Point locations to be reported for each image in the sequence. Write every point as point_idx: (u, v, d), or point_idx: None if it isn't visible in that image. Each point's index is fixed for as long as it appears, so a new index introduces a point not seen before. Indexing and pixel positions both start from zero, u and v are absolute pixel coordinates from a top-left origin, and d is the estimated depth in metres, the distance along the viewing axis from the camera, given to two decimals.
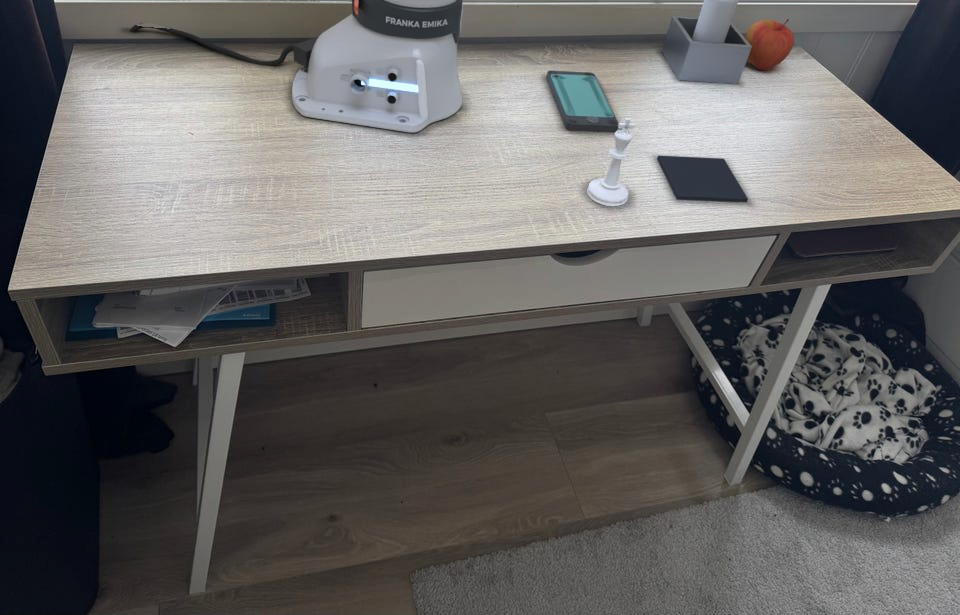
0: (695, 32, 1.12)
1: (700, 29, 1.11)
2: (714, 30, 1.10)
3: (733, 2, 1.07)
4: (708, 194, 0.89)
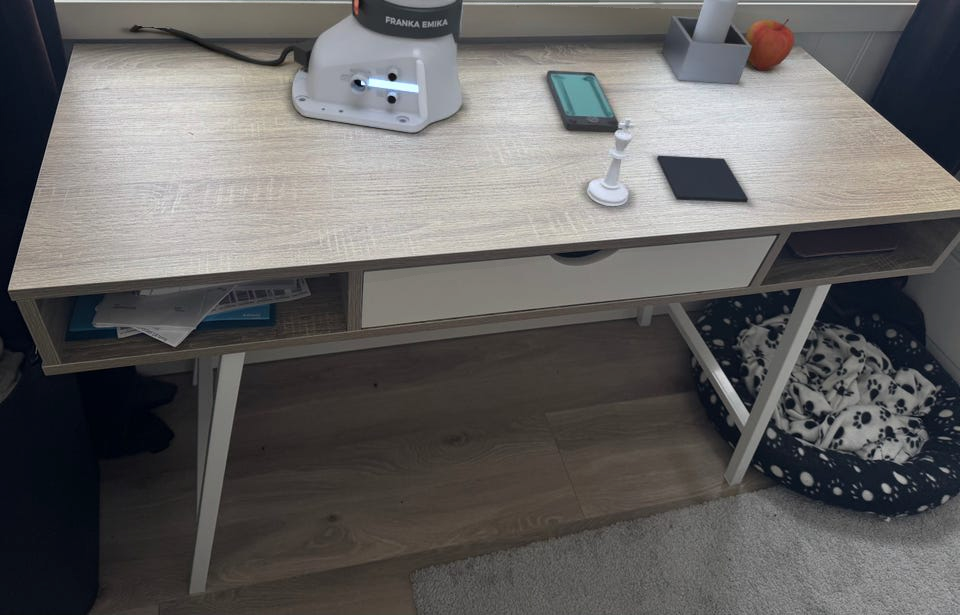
0: (695, 32, 1.12)
1: (700, 29, 1.11)
2: (714, 30, 1.10)
3: (733, 2, 1.07)
4: (708, 194, 0.89)
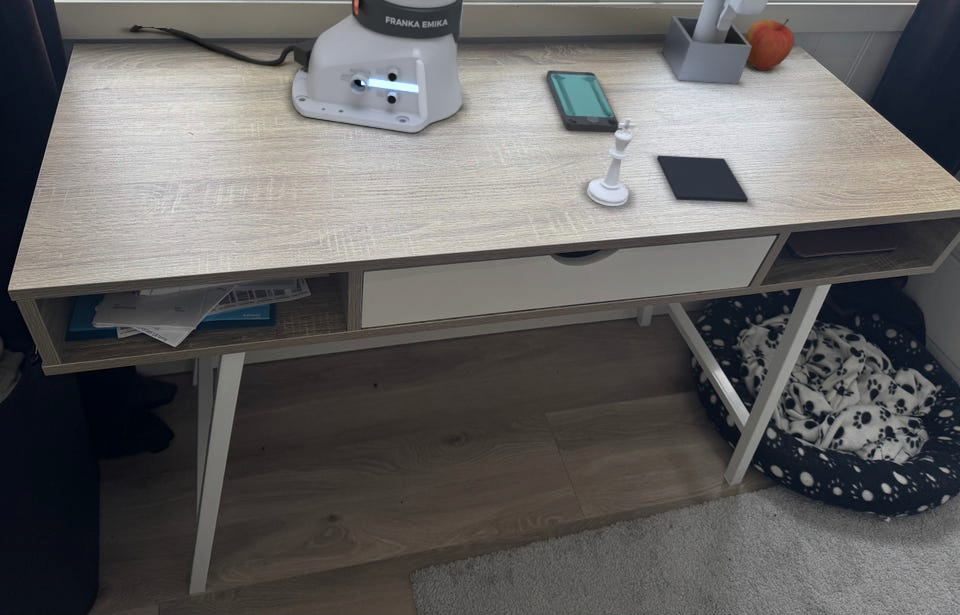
0: (695, 32, 1.12)
1: (700, 29, 1.11)
2: (714, 30, 1.10)
3: None
4: (708, 194, 0.89)
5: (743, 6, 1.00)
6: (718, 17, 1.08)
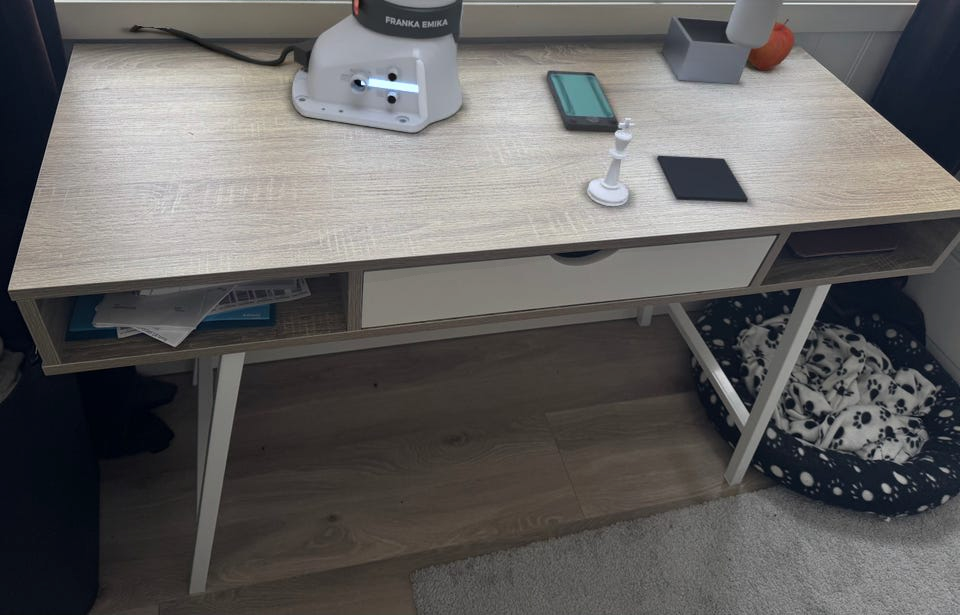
0: None
1: None
2: None
3: None
4: (708, 194, 0.89)
5: None
6: None
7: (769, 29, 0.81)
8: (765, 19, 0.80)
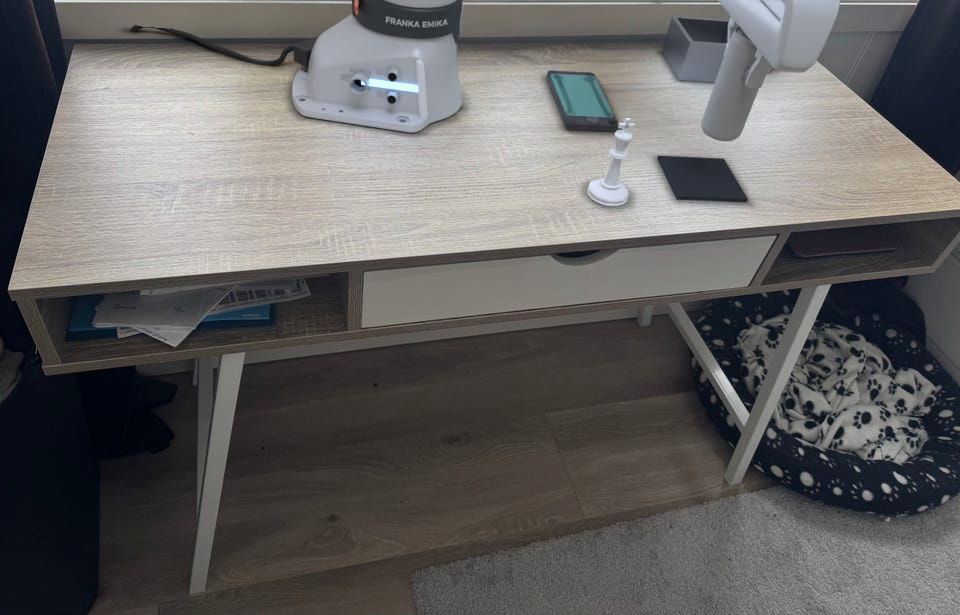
0: (715, 88, 0.83)
1: (723, 85, 0.82)
2: (741, 87, 0.81)
3: None
4: (708, 194, 0.89)
5: (785, 61, 0.71)
6: (747, 71, 0.79)
7: (741, 124, 0.85)
8: (737, 116, 0.83)
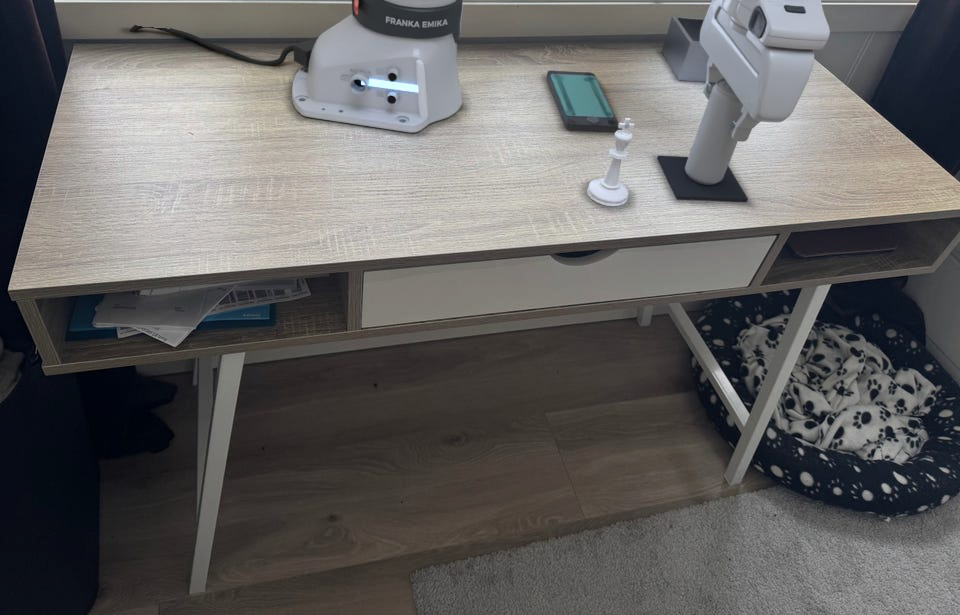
0: (698, 135, 0.88)
1: (705, 134, 0.86)
2: (722, 136, 0.85)
3: None
4: (708, 194, 0.89)
5: (763, 113, 0.74)
6: (734, 125, 0.81)
7: (723, 169, 0.89)
8: (719, 162, 0.88)
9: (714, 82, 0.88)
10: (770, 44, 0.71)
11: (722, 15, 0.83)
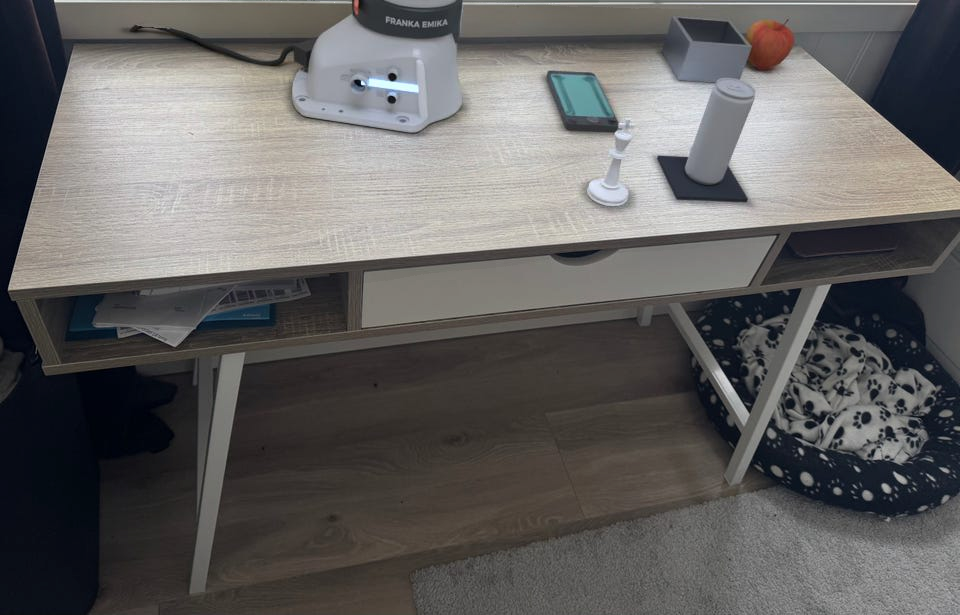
0: (698, 135, 0.88)
1: (705, 134, 0.86)
2: (722, 136, 0.85)
3: (747, 103, 0.83)
4: (708, 194, 0.89)
5: None
6: None
7: (723, 169, 0.89)
8: (719, 162, 0.88)
9: None
10: None
11: None
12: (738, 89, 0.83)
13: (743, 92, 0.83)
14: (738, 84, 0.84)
